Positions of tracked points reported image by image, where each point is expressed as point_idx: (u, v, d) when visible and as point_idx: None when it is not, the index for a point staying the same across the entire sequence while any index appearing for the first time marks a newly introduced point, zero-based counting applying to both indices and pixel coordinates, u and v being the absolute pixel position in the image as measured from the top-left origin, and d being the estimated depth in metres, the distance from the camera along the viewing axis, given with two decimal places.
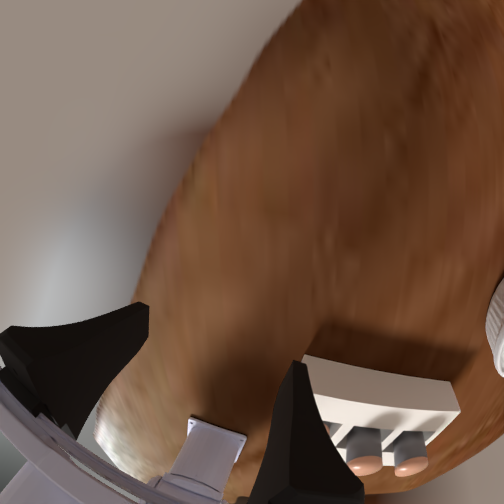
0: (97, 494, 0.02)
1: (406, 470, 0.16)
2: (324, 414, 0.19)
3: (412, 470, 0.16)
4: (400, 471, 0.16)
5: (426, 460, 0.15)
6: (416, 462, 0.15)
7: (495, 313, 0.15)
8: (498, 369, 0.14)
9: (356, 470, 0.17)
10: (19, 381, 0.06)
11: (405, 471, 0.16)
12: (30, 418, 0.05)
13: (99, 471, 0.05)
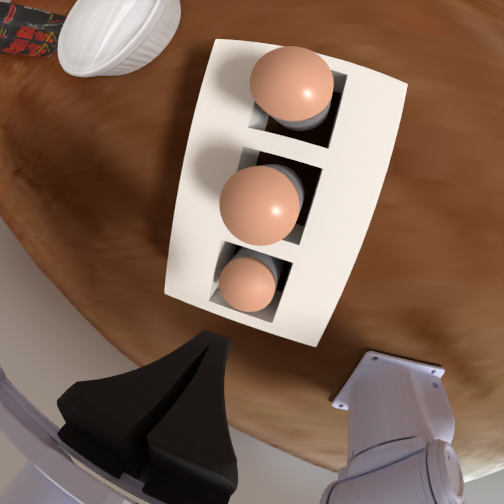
0: (97, 494, 0.02)
1: (294, 93, 0.09)
2: (200, 267, 0.17)
3: (297, 77, 0.09)
4: (297, 106, 0.10)
5: None
6: (253, 84, 0.10)
7: (114, 73, 0.16)
8: (134, 39, 0.12)
9: (265, 221, 0.11)
10: (90, 441, 0.05)
11: (296, 93, 0.09)
12: (30, 418, 0.05)
13: (99, 471, 0.05)
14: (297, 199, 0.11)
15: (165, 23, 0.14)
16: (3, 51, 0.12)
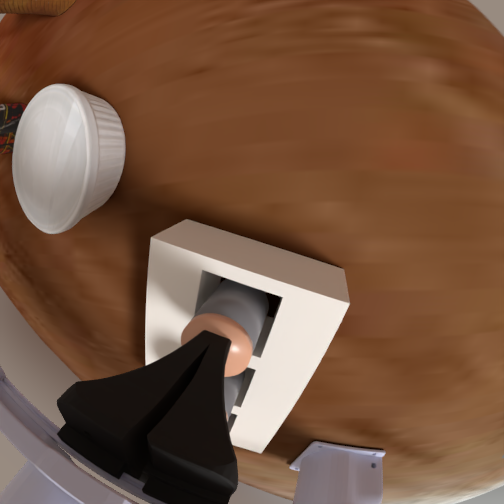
0: (97, 494, 0.02)
1: None
2: None
3: None
4: None
5: (187, 325, 0.12)
6: None
7: None
8: (76, 213, 0.15)
9: None
10: (90, 441, 0.05)
11: None
12: (30, 418, 0.05)
13: (99, 471, 0.05)
14: None
15: (105, 176, 0.16)
16: None
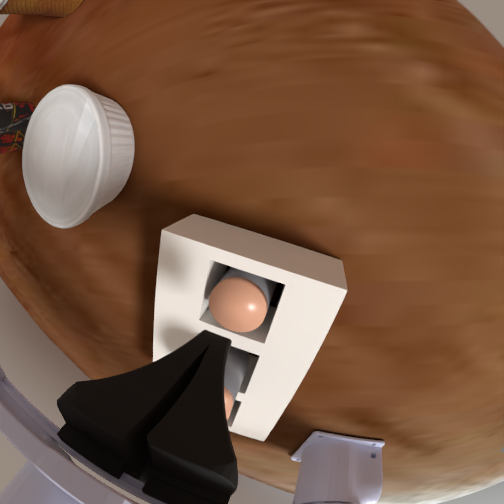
0: (97, 494, 0.02)
1: (238, 316, 0.16)
2: None
3: (240, 305, 0.15)
4: (240, 324, 0.16)
5: None
6: (211, 306, 0.16)
7: None
8: (89, 207, 0.16)
9: None
10: (90, 441, 0.05)
11: (240, 316, 0.16)
12: (30, 418, 0.05)
13: (99, 471, 0.05)
14: (229, 402, 0.14)
15: (117, 173, 0.17)
16: None
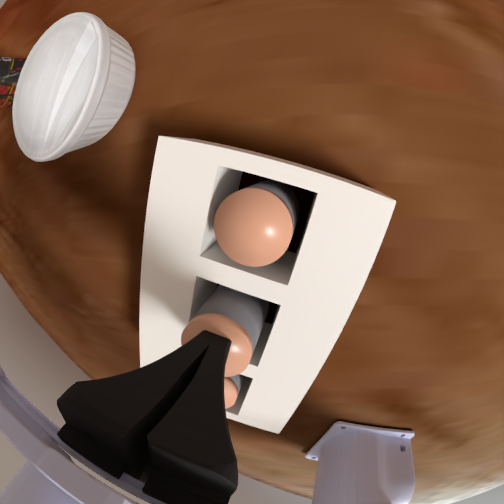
0: (97, 494, 0.02)
1: (254, 241, 0.12)
2: None
3: (257, 225, 0.11)
4: (257, 254, 0.12)
5: None
6: (217, 229, 0.12)
7: None
8: (76, 126, 0.12)
9: None
10: (90, 441, 0.05)
11: (256, 242, 0.12)
12: (30, 418, 0.05)
13: (99, 471, 0.05)
14: (248, 349, 0.12)
15: (112, 94, 0.13)
16: None
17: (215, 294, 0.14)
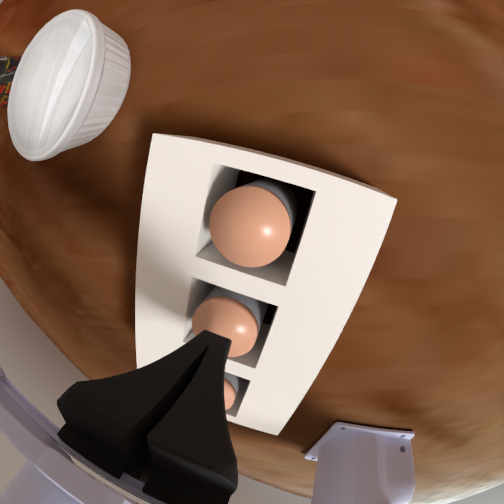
0: (97, 494, 0.02)
1: (251, 241, 0.11)
2: None
3: (253, 224, 0.11)
4: (253, 254, 0.12)
5: None
6: (213, 229, 0.12)
7: None
8: (70, 125, 0.12)
9: None
10: (90, 441, 0.05)
11: (253, 242, 0.11)
12: (30, 418, 0.05)
13: (99, 471, 0.05)
14: (254, 329, 0.13)
15: (107, 92, 0.13)
16: None
17: None
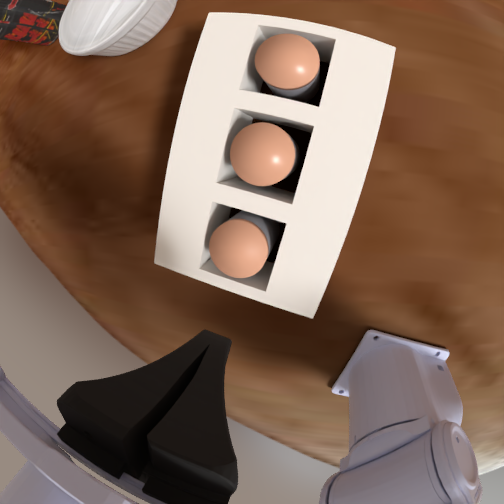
0: (97, 494, 0.02)
1: (289, 67, 0.12)
2: (191, 232, 0.16)
3: (291, 56, 0.11)
4: (291, 77, 0.12)
5: (262, 44, 0.12)
6: (257, 61, 0.12)
7: (112, 52, 0.16)
8: (132, 17, 0.12)
9: (267, 165, 0.14)
10: (90, 441, 0.05)
11: (291, 68, 0.12)
12: (30, 418, 0.05)
13: (99, 471, 0.05)
14: (293, 147, 0.13)
15: (162, 3, 0.13)
16: (5, 37, 0.11)
17: None
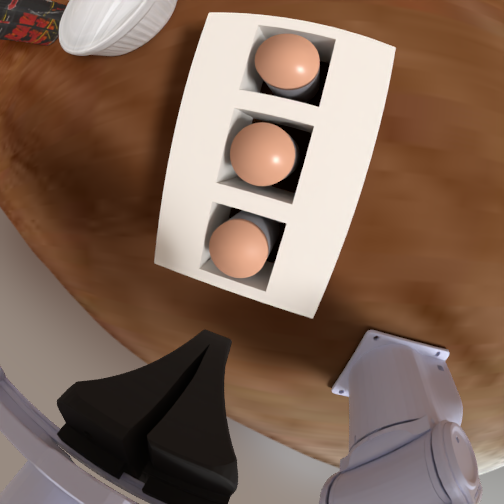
0: (97, 494, 0.02)
1: (289, 67, 0.12)
2: (191, 232, 0.16)
3: (291, 56, 0.11)
4: (291, 77, 0.12)
5: (262, 44, 0.12)
6: (257, 61, 0.12)
7: (112, 52, 0.16)
8: (132, 17, 0.12)
9: (267, 165, 0.14)
10: (90, 441, 0.05)
11: (291, 68, 0.12)
12: (30, 418, 0.05)
13: (99, 471, 0.05)
14: (293, 147, 0.13)
15: (162, 3, 0.13)
16: (5, 37, 0.11)
17: None
